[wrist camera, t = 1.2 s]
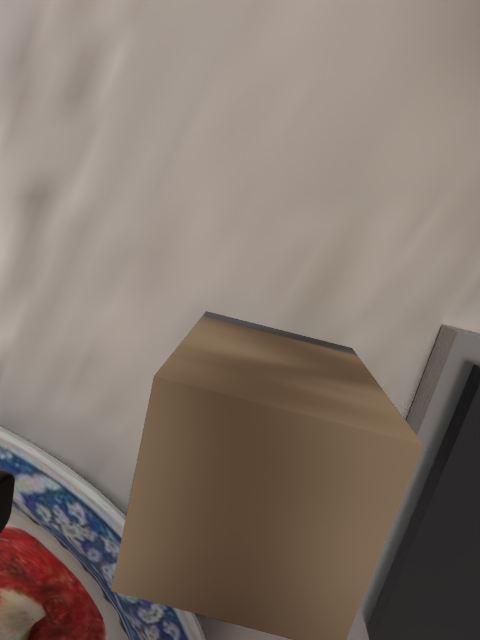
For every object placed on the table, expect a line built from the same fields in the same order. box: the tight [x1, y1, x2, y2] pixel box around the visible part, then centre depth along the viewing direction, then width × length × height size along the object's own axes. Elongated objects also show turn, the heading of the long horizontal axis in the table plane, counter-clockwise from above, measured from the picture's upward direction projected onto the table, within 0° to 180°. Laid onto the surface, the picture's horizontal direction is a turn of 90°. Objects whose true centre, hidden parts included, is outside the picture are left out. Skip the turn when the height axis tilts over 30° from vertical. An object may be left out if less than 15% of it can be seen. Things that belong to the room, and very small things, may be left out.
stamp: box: [111, 311, 423, 640], centre depth 10 cm, size 5×5×6 cm
